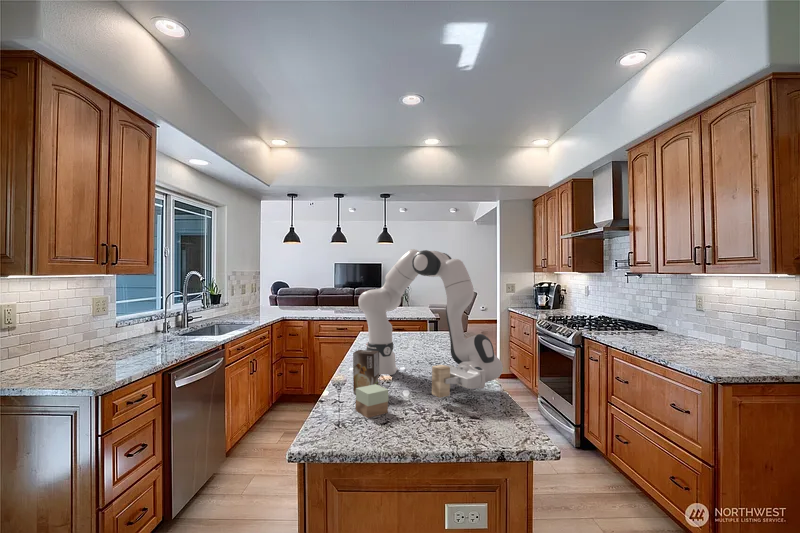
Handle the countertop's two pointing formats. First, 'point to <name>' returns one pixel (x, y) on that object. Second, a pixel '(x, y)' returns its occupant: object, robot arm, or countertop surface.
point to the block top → (372, 395)
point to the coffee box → (365, 368)
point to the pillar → (440, 381)
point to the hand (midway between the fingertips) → (439, 379)
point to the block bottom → (371, 409)
